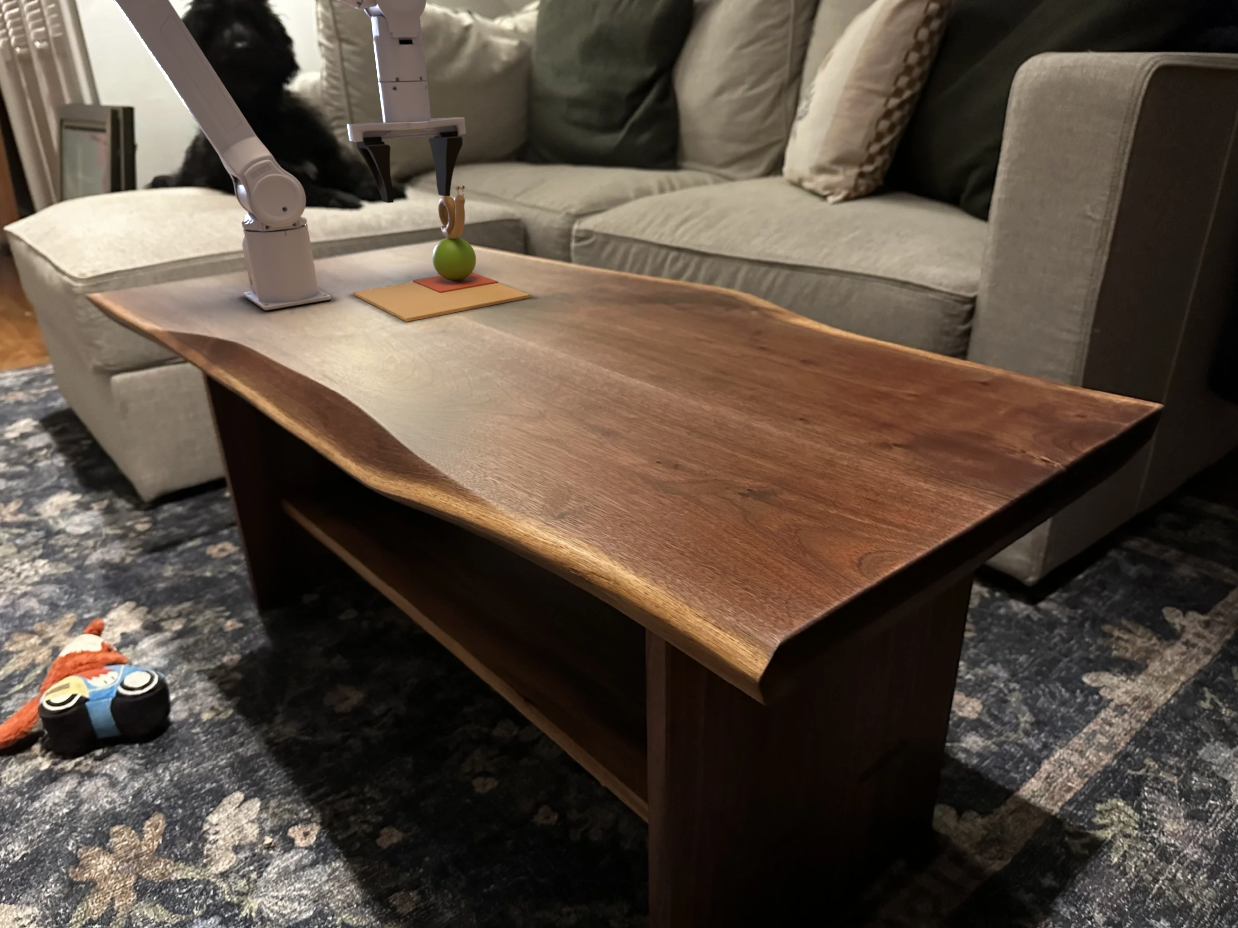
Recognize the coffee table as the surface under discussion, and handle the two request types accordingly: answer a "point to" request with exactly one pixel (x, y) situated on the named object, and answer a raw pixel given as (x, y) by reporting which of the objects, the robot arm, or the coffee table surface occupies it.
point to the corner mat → (439, 296)
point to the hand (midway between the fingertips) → (416, 198)
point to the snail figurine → (453, 241)
